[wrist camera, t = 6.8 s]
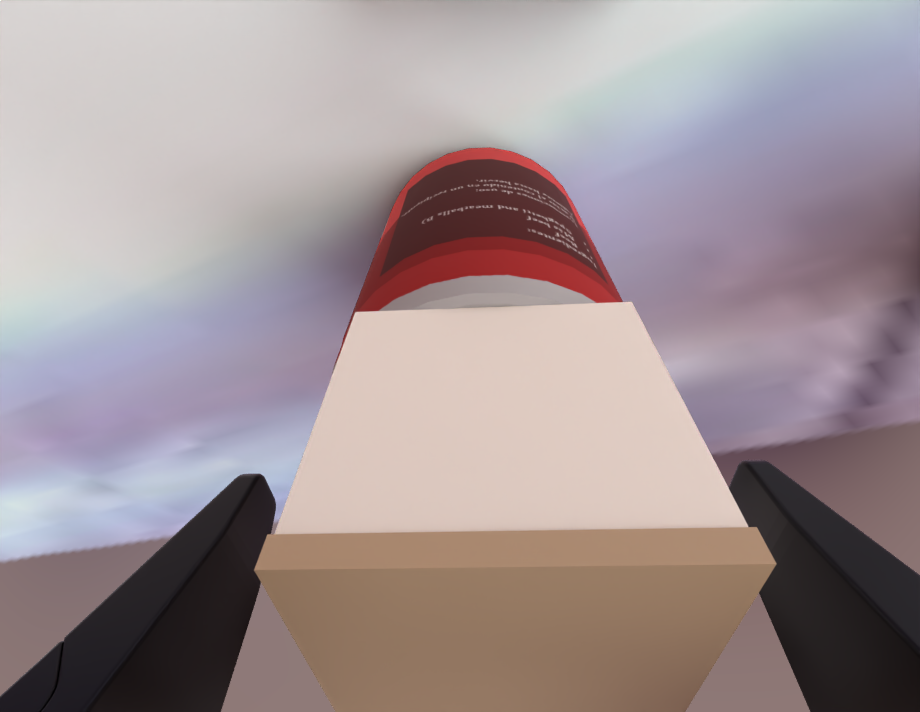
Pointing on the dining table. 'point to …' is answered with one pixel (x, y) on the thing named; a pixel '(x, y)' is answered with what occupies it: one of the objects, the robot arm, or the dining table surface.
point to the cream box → (509, 520)
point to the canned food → (483, 240)
